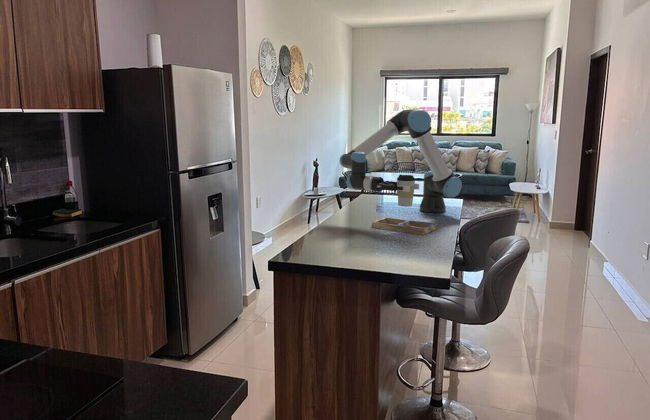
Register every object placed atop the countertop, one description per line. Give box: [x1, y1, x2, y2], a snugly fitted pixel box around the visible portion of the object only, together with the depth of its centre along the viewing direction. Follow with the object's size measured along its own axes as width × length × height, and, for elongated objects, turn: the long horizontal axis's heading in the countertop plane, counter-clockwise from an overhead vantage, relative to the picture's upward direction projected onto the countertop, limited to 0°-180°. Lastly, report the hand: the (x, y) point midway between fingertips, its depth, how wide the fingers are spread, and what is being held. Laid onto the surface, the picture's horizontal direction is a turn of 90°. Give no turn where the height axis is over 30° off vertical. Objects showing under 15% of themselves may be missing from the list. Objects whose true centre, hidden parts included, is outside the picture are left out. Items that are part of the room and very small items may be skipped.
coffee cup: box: [396, 174, 416, 207], centre depth 236 cm, size 9×9×15 cm
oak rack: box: [371, 216, 438, 236], centre depth 241 cm, size 15×28×3 cm, turn 54°
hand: (414, 187), depth 233 cm, fingers closed on coffee cup, 9 cm apart
